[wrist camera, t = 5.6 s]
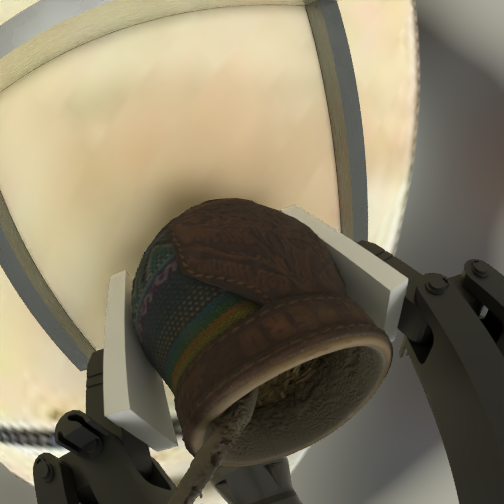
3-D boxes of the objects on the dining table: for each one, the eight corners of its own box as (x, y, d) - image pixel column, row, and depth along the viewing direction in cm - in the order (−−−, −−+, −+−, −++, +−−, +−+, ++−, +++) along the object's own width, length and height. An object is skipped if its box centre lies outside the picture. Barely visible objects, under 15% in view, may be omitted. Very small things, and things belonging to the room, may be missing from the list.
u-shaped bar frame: (355, 244, 22) (388, 266, 18) (81, 357, 17) (79, 397, 13) (316, -15, 11) (354, -33, 7) (-41, 96, 6) (-76, 97, 2)
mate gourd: (255, 331, 15) (355, 485, 7) (115, 319, 11) (145, 545, 3) (308, 209, 13) (499, 342, 4) (145, 161, 9) (202, 494, 1)
